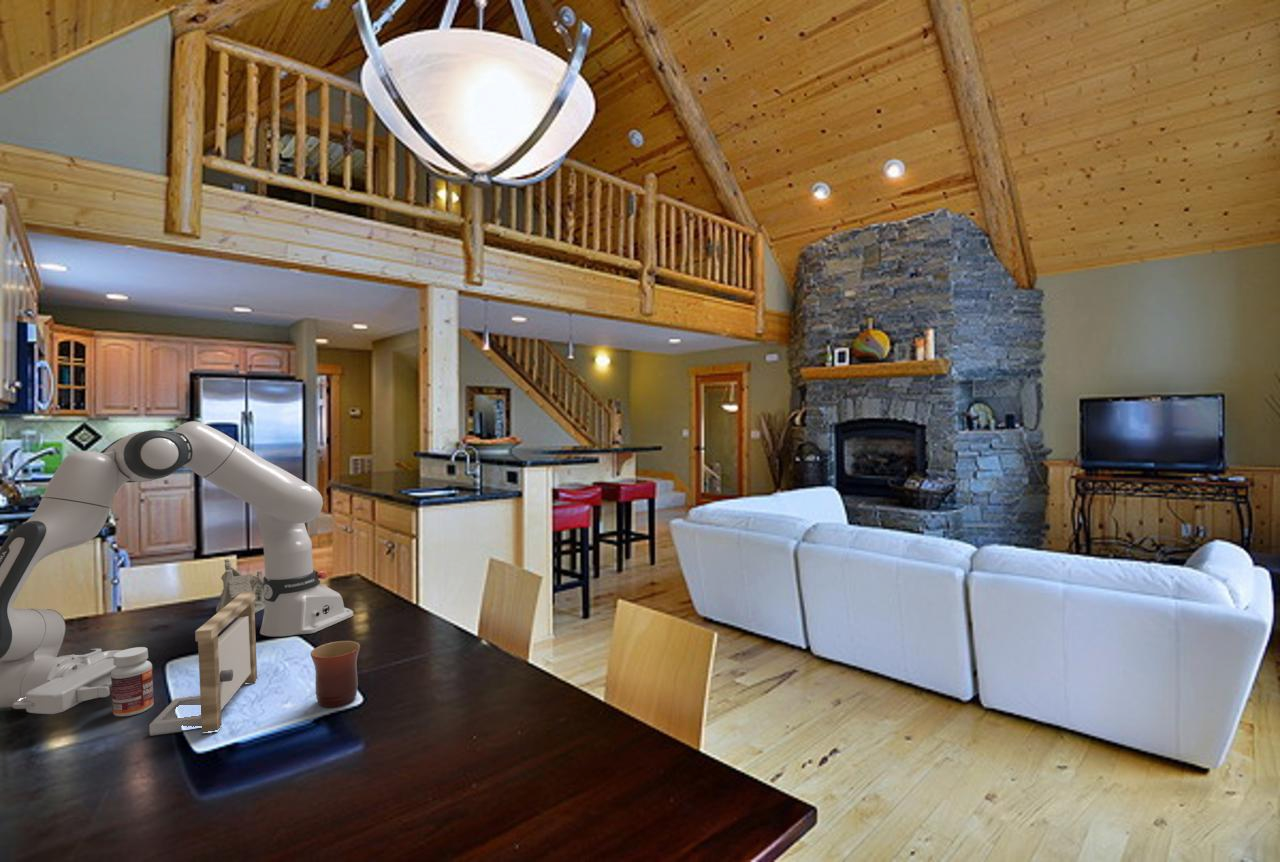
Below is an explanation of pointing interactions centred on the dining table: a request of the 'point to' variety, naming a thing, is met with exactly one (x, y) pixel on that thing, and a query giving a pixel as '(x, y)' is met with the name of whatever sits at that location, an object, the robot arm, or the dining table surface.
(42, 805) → the dining table surface
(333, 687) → the mug
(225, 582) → the ceramic cottage
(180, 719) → the keeper
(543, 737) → the dining table surface
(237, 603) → the door frame
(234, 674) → the door
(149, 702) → the pill bottle
